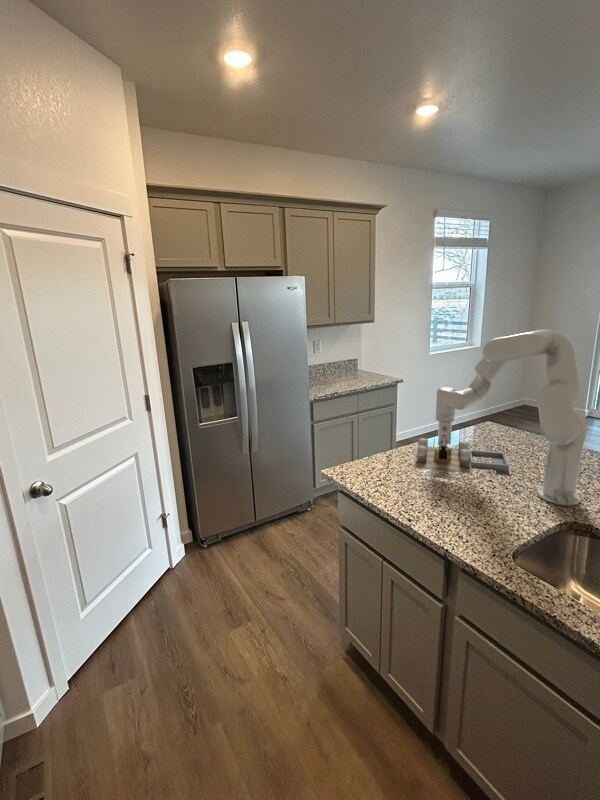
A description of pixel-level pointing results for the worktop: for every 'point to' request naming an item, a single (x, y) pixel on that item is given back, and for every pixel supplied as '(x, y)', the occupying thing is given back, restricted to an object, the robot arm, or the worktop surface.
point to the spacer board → (456, 463)
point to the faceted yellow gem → (436, 453)
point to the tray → (497, 458)
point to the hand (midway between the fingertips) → (442, 455)
